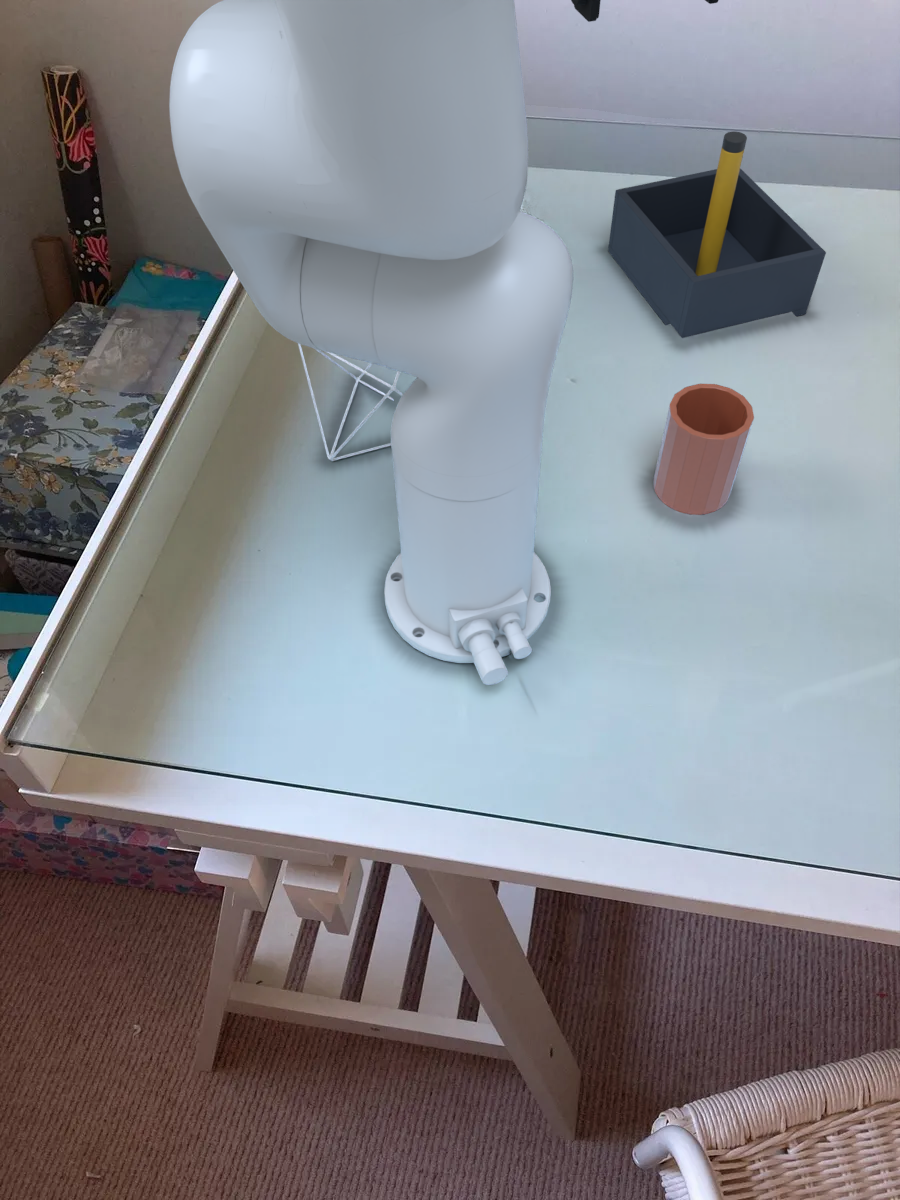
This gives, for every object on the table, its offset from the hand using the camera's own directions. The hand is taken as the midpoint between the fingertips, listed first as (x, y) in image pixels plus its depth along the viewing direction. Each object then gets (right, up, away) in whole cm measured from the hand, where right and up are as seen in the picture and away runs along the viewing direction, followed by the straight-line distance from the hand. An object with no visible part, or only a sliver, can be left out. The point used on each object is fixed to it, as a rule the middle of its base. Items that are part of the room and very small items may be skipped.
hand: (645, 5), depth 71 cm
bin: (+11, -12, +26) cm, 31 cm away
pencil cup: (+5, -35, +8) cm, 37 cm away
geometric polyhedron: (-21, -29, +14) cm, 38 cm away
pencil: (+11, -11, +25) cm, 30 cm away
